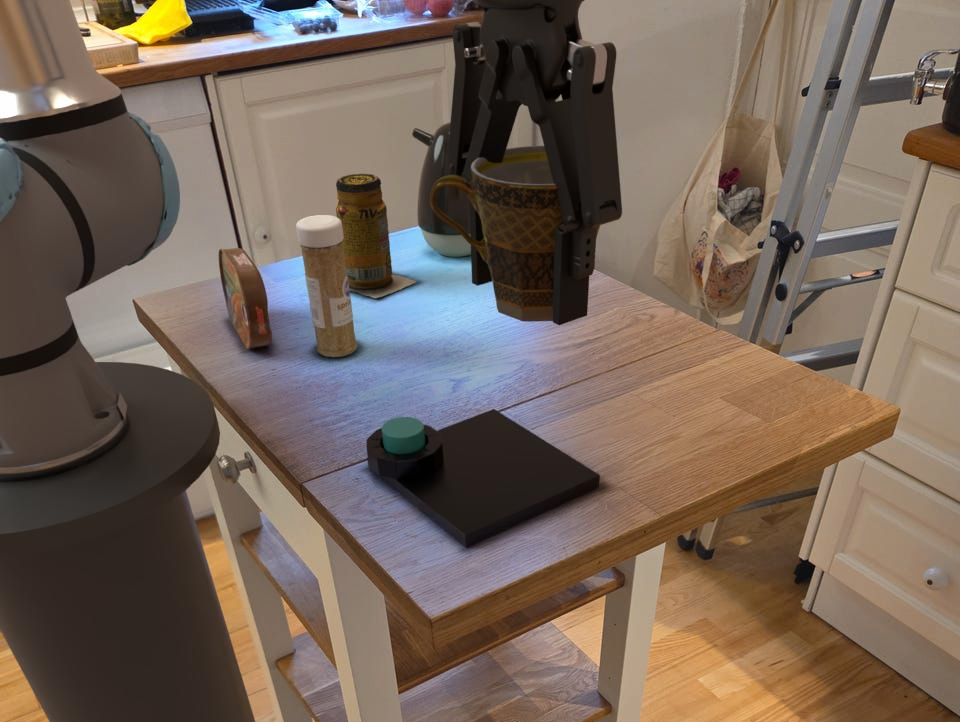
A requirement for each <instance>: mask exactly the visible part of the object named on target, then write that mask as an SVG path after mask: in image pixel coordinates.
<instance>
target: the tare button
mask: <svg viewBox="0 0 960 722" xmlns="http://www.w3.org/2000/svg"><path fill="white" fill-rule="evenodd" d="M424 425H425V424H424V422H422V420H420V419H419V418H415V417H412V416H400V417H394V418H391V419H389V420H387V421H385V422H384V423H383V425H382V427H381V428H382V436H383V444H384V448H385V450H386V451H387V452H391V453H396V454H409V453H414V452H416V451H419V450H421V449H423V448H424V446H425V433H424Z"/></svg>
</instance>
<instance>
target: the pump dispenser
mask: <svg viewBox="0 0 960 722" xmlns="http://www.w3.org/2000/svg"><path fill="white" fill-rule="evenodd" d="M450 123H451V121H450V122H446V123H444V124H442V125H440V126H439V127H438V128H437V129H436V130H435V132H434V134H431V133H429V132H427V131H424V130H422V129H420V128H417V127H415V128H414V129H412V131H411V132H412V133H411V135H412V138H414V139H415V140H417V141H419V142H421V143H422V144H424V146H426V147H427V150H426V153H425V156H424V159H423V163H422V167H421V172H420V179H419V184H418V194H417V208H416V209H417V210H416V211H417V214H416V215H417V225H418V227H419V228H420V231H421V234H422V236H423V238H424V241H425V243H426V244H427V245H428V246H429V247H430V249H432V250H433V251H434V252H436V253H437V254H439V255H443V256H444V257H453V258H461V257H467V256H471V244H469V243H468V242H467V241H466V240H465V239H464V237H463V236H462V235H461V234H460V233H459V232H458V231H456V230H455V229H454V228H452V227H451V226H450V225H448V224H447V223H445V222H444V221H443V220H442V219H440V218H439V217H438V216H437V215H436V213H435V212H434V211H433V209H432V207H431V204H430V193H431V189H432V187H433V185H434V183H435V182H436V181H437V180H438V179H439V178H441V177H444V176H448V175H449V174H448V171H447V159H448V147H449V135H450ZM465 156H468V152H466V153H463V155H462V157H465ZM435 202H436V205H437V207H438V208H439V210H440V211H441V212H443V213H444V214H445V215H446V216H448V217H449V218H450V219H452V220H453V221H455V222H456V223H457V224H459V225H460V226H461V227H462V228H463V229H464V230H465V231H466V232H467V233H468V234H469V236H470V233H469V228H468V211H467V195H466V194H465V193H464V192H463V191H461V190H460V189H458V188H457V187H454V186H450V185H445V186H442V187H440V188H439V189H438V190H437V191H436V194H435Z"/></svg>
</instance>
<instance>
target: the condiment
mask: <svg viewBox="0 0 960 722" xmlns="http://www.w3.org/2000/svg"><path fill="white" fill-rule="evenodd" d="M381 185H382V180H381V179H380V178H379V177H378V176H377V175H375V174H371V173H351V174H346V175H342V176H341V177H339V178H338V179H337V180H336V183H335V187H336V198H337V200H338V202H337V203H336V207H335V214H336V217H337V218H339V219H340V220H341V223H342V229H343V237H344V238H343V240H342V241H343V250H344V259H345V265H346V273H347V277H348V283H349V290H350V292H352V293H353V292H354V293H357V294H360V295H362V296H366V297H370V298H373V299H377V298H382V297H384V296H388V295H389V294H393V293H395V292H397V291H401V290H402V289H404V288H406V287H410V286H411V285H413V284H416V283H418V281H417V280H414V279H411V278H408V277H406V276H405V277H404V276H401V275H398V274H393V267H392V266H393V265H392V256H391V245H390V244H391V243H390V232H389V221H388V211H387V204H386V202H385V201H384V199H383V192H382V191H383V190H382V186H381Z"/></svg>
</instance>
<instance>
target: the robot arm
mask: <svg viewBox="0 0 960 722" xmlns="http://www.w3.org/2000/svg"><path fill="white" fill-rule="evenodd" d="M471 1H472V2H473V3H474V4H475V5H477V6H479V7H481V8H483V14H482V19H481V20H479V21H473V22H472V21H471V22H465V23H459V24H455V25H454V27H453V28H452V42H453V43H452V45H453V53H454V77H453V86H452V87H453V88H452V99H451V100H452V101H451V110H450V111H451V112H450V113H451V114H450V122H451V123H450V122H449V123H450V135H449V147H448V159H447V171H448V174H449V175H455V176H459V177H462V178H464V179H465V180H467V181H468V182H471V181H472V179H473V177H472V173H471V165H472V163H473V162H474V161H475V160H476V159H477V158H480V157H483V158H485V159H486V160H487V161H488V162H491V163H501V162H502V161H503V158H504V155H505V151H506V149H508V144H509V142H510V138H511V135H512V132H513V130H514V129H513V128H514V125H515V122H516V118H517V116H518V112H519V109H520V107H521V106H522V105H523V106H525V107H527V110H528V113H529V117H530V120H531V121H532V122H533V123H534V124H535V125H537V126H538V127H539V131H540V135H541V138H542V142H543V143H542V144H543V146H544V147H545V151H546V155H547V159H548V162H549V166H550V170H551V174H552V178H553V182H554V184H555V185H556V186H557V190H556V193H557V197H558V201H559V205H560V209H561V213H562V217H563V221H564V224H561V225H559V226H557V227H556V228H555V250H554V286H553V321H552V323H553V324H555V325H557V326H562V325H565V324H567V323H571V322H573V321H576V320H578V319H581V318H584V317H587V316H588V311H589V310H588V309H589V307H588V306H589V293H590V292H589V291H590V290H589V289H590V276H592V275H593V274H594V272H595V269H596V252H597V251H596V248H597V238H596V234H597V229H598V227H599V225H600V226H602V225H605V224H609V223H612V222H615V221H619V220H620V219H621V217H622V215H623V203H622V189H621V177H620V166H619V165H620V164H619V155H618V154H619V153H618V143H617V142H618V141H617V129H616V116H615V104H614V90H613V87H614V78H615V71H616V64H617V48H616V46H615V44H614V43H613V42H611V41H609V42H603V43H597V44H596V43H592V42H589V41H587V40H584V39H583V35H582V31H581V27H580V21H579V11H580V7H581V5H582V4H583V2H584V1H585V0H471ZM88 51H89V50H88V49H87V46H86V43H85V41H84V37H83V35H82V31H81V29H80V26H79V24H78V21H77V17H76V15H75V12H74V8H73V6H72V3H71V1H70V0H0V482H13V481H26V480H33V479H39V478H45V477H49V476H53V475H57V474H61V473H64V472H67V471H70V470H73V469H76V468H78V467H81V466H83V465H85V464H88V463H90V462H92V461H94V460H95V459H97V458H99V457H101V456H102V455H104V454H105V453H107V452H108V451H110V450H111V449H112V448H114V447H115V446H116V445H117V444H118V443H119V442H120V441H121V440H122V439H123V437H124V436H125V434H126V433H127V430H128V428H129V417H128V414H127V405H126V403H125V401H124V399H123V397H122V395H121V393H120V394H119V393H118V391H117V390H116V389H115V387H114V386H113V385H112V383H111V382H110V381H109V379H108V378H107V377H106V375H105V374H104V373H103V371H102V370H101V369H100V367H99V366H98V365H97V363H96V362H97V361H96V360H95V359H94V358H93V356H92V355H91V353H90V352H89V351H88V350H87V348H86V347H85V346H84V344H83V342H82V341H81V338H80V336H79V332H78V330H77V327H76V325H75V322H74V319H73V316H72V312H71V309H70V306H69V303H68V301H67V298H68V297H69V296H70V295H72V294H74V293H77V292H78V291H80V290H82V289H84V288H86V287H88V286H89V285H92V284H94V283H96V282H97V281H99V280H101V279H104V278H105V277H107V276H109V275H111V274H112V273H115V272H117V271H118V270H120V269H122V268H124V267H130V266H133V265H135V264H137V263H139V262H141V261H142V260H144V259H145V258H147V257H148V255H149V254H151V252H152V251H154V250H156V249H157V248H159V247H161V246H162V245H163V244H164V243H165V242H166V241H167V240H168V238H169V237H171V234H172V232H173V229H174V228H175V226H176V224H177V221H178V219H179V215H180V214H179V213H180V207H181V191H180V189H181V188H180V181H179V177H178V172H177V169H176V166H175V163H174V160H173V158H172V155H171V154H170V152H169V149H168V147H167V145H166V144H165V142H164V141H163V139H162V138H161V136H160V135H158V134H155V133H153V132H152V131H151V129H152V127H151V126H150V124H149V123H148V122H146V121H145V120H144V119H143V118H141V117H140V116H139V115H136V114H135V113H133V112H131V111H129V110H128V109H127V106H126V102H125V99H124V97H123V94H122V90H121V88H120V87H119V86H117V85H116V84H115V83H113V82H112V81H110V80H109V79H107V78H106V77H105V76H104V75H102V74H101V73H99V72H98V70H96V68H94V66H93V62H92V60H91V57H90V55H89V52H88ZM560 96H561V100H558V99H559V98H560ZM466 152H468V156H465V157H462V155H463V153H466ZM580 202H581V209H578V204H579V203H580ZM603 202H604V203H603ZM601 203H602V204H601ZM467 211H468V228H469V233H470V237H471V238H473V239H474V240H476V241H482V239H483V238H484V235H483V231H482V224H481V219H480V216H479V214H478V213H477V211H476V210H475V208H474V206H473V204H472V203H471V201H470V199H469V197H468V196H467ZM597 235H598V234H597ZM470 262H471V263H470V266H471V283H472V285H475V286H477V287H478V286H479V287H480V286H481V285H486V284H489V283H491V282H492V278H491V274H490V270H489V267H488V264H487V263H486V262H485V261H484V260H483V258H482V256H481V254H480V253H479V251H478V250H477V249H476V248H475V247H473V246H472V245H471V255H470ZM492 283H493V282H492Z"/></svg>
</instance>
